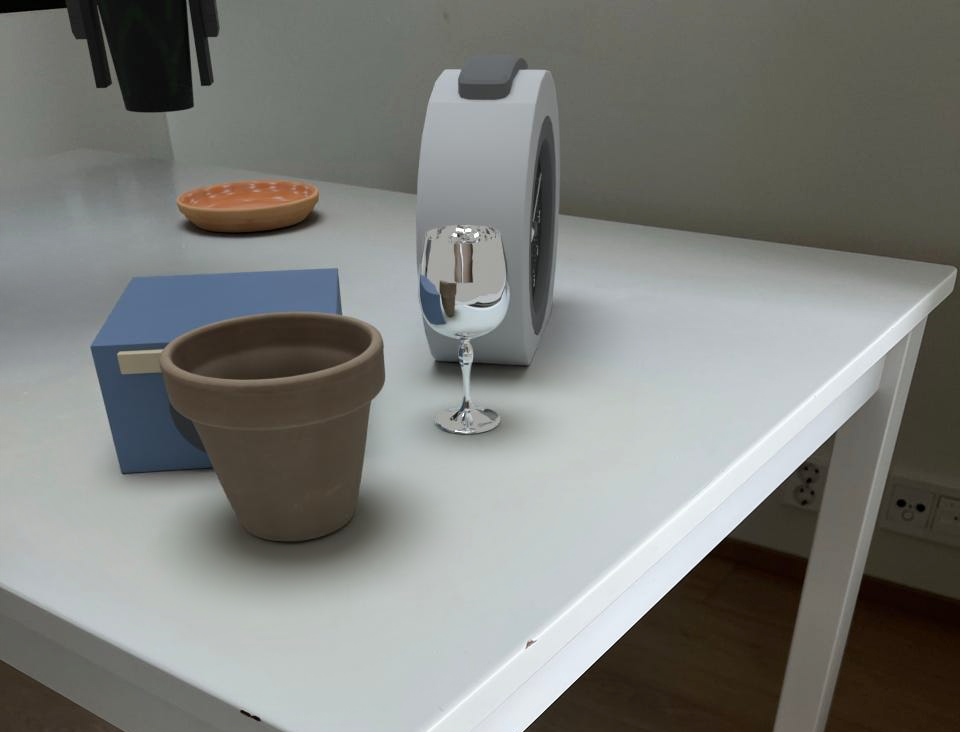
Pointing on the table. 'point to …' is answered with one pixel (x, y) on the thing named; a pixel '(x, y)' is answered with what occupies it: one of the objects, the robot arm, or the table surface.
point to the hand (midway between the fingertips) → (156, 84)
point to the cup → (150, 53)
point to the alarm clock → (496, 188)
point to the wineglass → (464, 304)
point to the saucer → (248, 205)
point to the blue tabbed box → (162, 318)
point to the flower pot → (281, 413)
